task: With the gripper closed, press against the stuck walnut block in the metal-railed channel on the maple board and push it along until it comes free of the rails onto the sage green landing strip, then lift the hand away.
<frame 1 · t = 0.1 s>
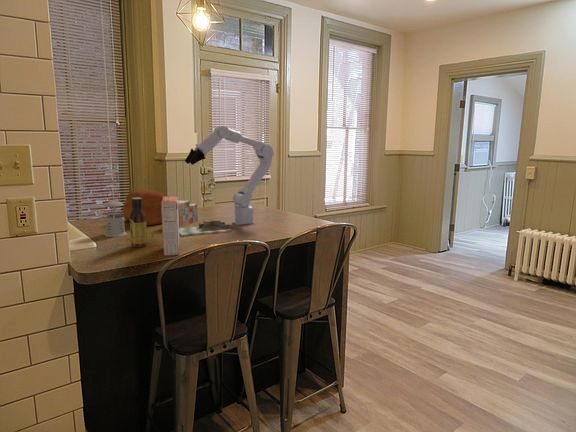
hand: (188, 162, 198), 32 cm above the countertop, tool tilted 50°, fingers open, 7 cm apart
sauce bottle: (139, 246, 167), on the countertop
cracker box: (171, 251, 161), on the countertop
bread: (147, 222, 216), on the countertop
chute board: (203, 230, 197), on the countertop
stack of blocks: (183, 224, 213), on the countertop
channel rails: (214, 226, 200), on the chute board, point 1 cm above the countertop
walnut block: (212, 224, 199), point 3 cm above the countertop, slide at 0.0 cm
french press: (115, 234, 188), on the countertop
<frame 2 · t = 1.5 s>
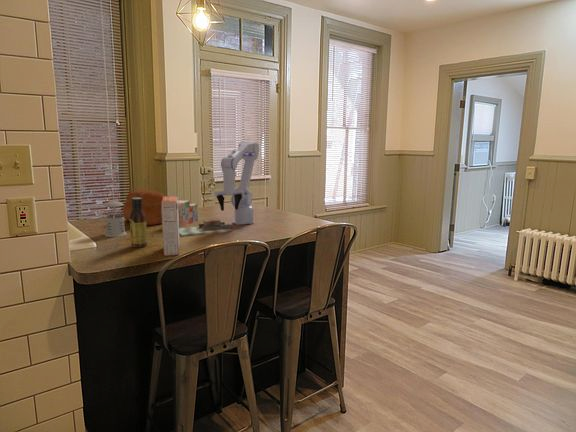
hand: (229, 209, 202), 9 cm above the countertop, tool pointing down, fingers open, 7 cm apart
nothing on the countertop moved.
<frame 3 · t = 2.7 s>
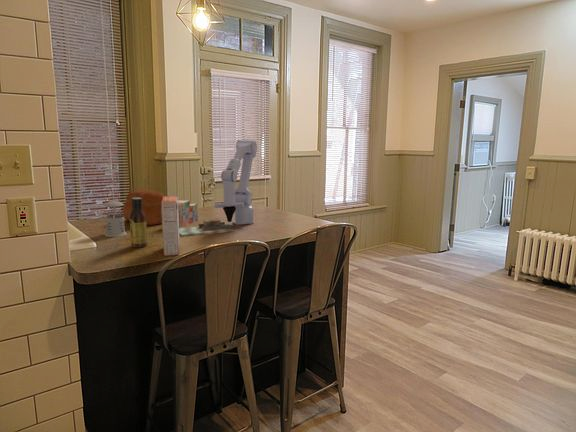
hand: (229, 221, 203), 4 cm above the countertop, tool pointing down, fingers closed
nothing on the countertop moved.
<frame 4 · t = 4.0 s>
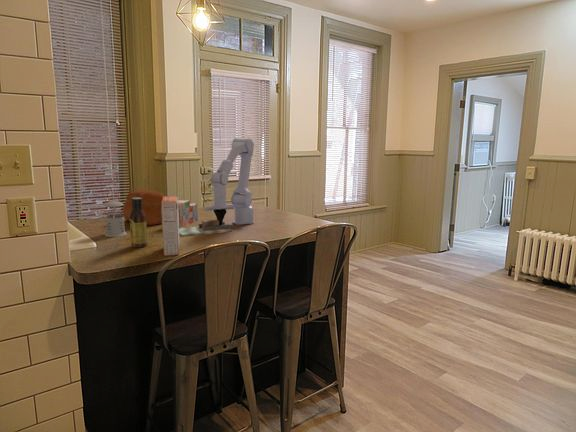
hand: (220, 224, 201), 2 cm above the countertop, tool pointing down, fingers closed
walnut block: (210, 224, 199), point 3 cm above the countertop, slide at 0.7 cm, touching gripper
everything else where it was.
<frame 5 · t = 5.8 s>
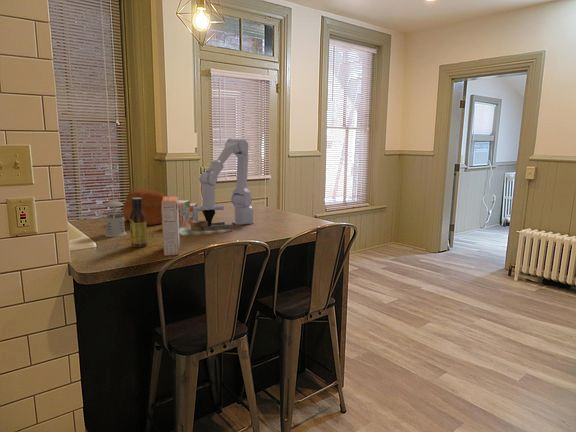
hand: (208, 225, 198), 2 cm above the countertop, tool pointing down, fingers closed
walnut block: (199, 225, 196), point 3 cm above the countertop, slide at 6.3 cm, touching gripper
everything else where it was.
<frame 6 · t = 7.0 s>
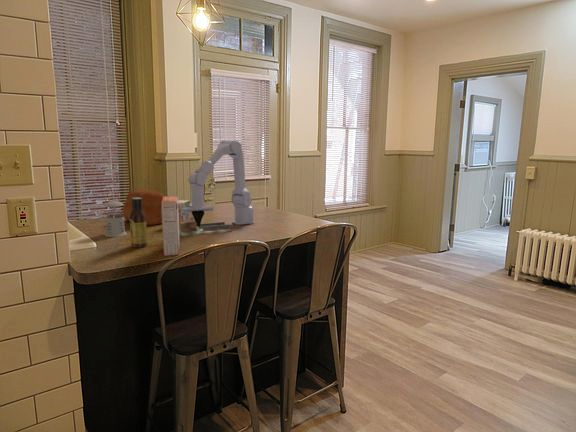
hand: (198, 226, 196), 2 cm above the countertop, tool pointing down, fingers closed
walnut block: (188, 226, 193), point 3 cm above the countertop, slide at 11.7 cm, touching gripper
everything else where it was.
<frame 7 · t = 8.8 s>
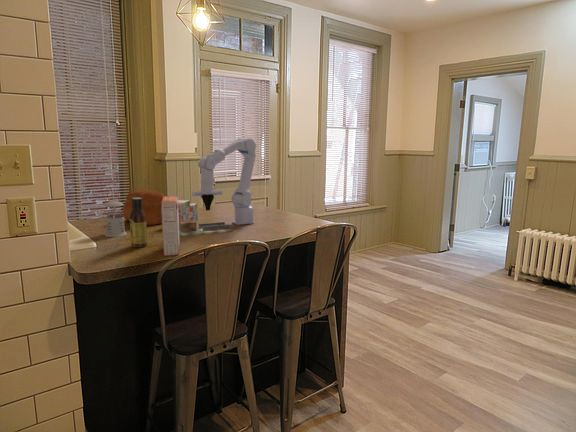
hand: (207, 210, 201), 9 cm above the countertop, tool pointing down, fingers closed
walnut block: (187, 226, 193), point 3 cm above the countertop, slide at 11.8 cm
everything else where it was.
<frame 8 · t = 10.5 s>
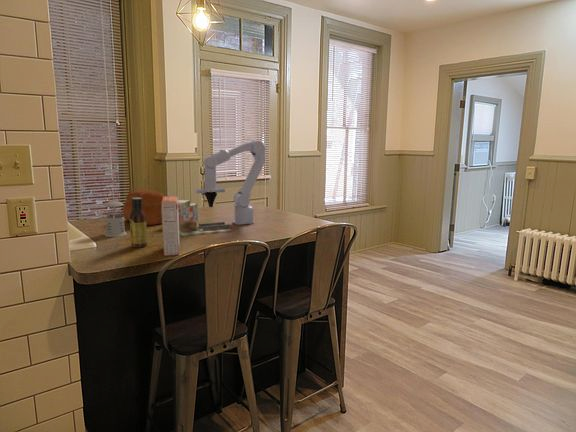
hand: (210, 206, 210), 9 cm above the countertop, tool pointing down, fingers closed
at the end: walnut block slide at 11.8 cm; walnut block moved 11.8 cm from its start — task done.
